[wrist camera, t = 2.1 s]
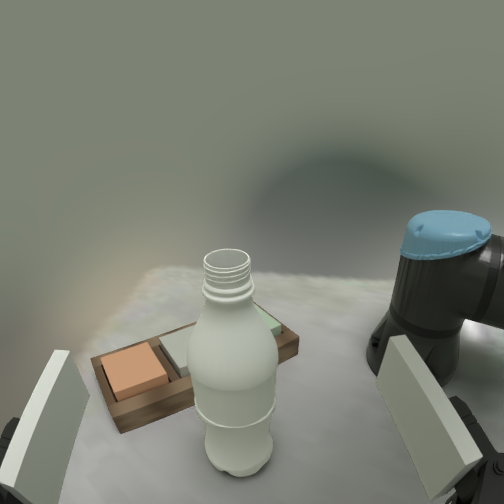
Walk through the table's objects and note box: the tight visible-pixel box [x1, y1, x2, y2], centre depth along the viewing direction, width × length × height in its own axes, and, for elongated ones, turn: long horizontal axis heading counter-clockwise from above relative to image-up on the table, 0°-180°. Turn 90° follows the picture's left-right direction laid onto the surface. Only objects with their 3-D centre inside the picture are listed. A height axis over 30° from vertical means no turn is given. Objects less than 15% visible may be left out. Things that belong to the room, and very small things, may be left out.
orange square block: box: [101, 342, 169, 402], centre depth 39 cm, size 7×7×3 cm
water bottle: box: [186, 249, 279, 477], centre depth 26 cm, size 7×7×25 cm
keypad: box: [90, 302, 299, 434], centre depth 44 cm, size 28×12×4 cm, turn 125°
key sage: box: [254, 304, 282, 337], centre depth 48 cm, size 7×7×3 cm
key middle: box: [159, 324, 196, 379], centre depth 43 cm, size 7×7×3 cm
